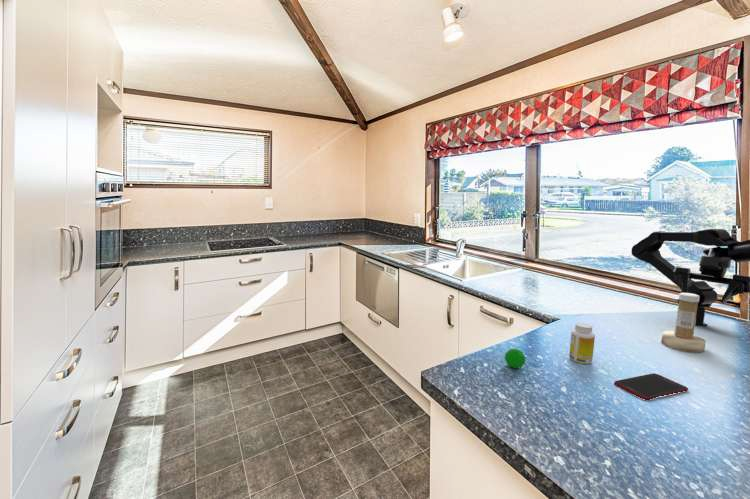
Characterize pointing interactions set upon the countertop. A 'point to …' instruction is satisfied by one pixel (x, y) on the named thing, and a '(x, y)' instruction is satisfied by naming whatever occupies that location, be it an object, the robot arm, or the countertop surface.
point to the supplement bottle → (582, 343)
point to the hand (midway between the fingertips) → (702, 299)
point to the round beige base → (683, 343)
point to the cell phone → (650, 386)
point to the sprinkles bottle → (686, 315)
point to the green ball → (515, 358)
